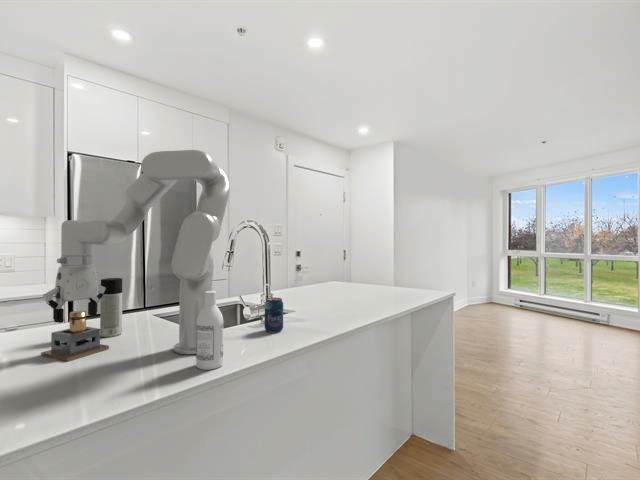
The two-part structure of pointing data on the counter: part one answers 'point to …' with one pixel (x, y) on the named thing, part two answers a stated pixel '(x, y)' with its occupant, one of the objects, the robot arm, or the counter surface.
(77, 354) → the collar stand
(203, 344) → the bath foam
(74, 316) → the copper tube
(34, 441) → the counter surface
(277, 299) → the soda can
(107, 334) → the spray can
